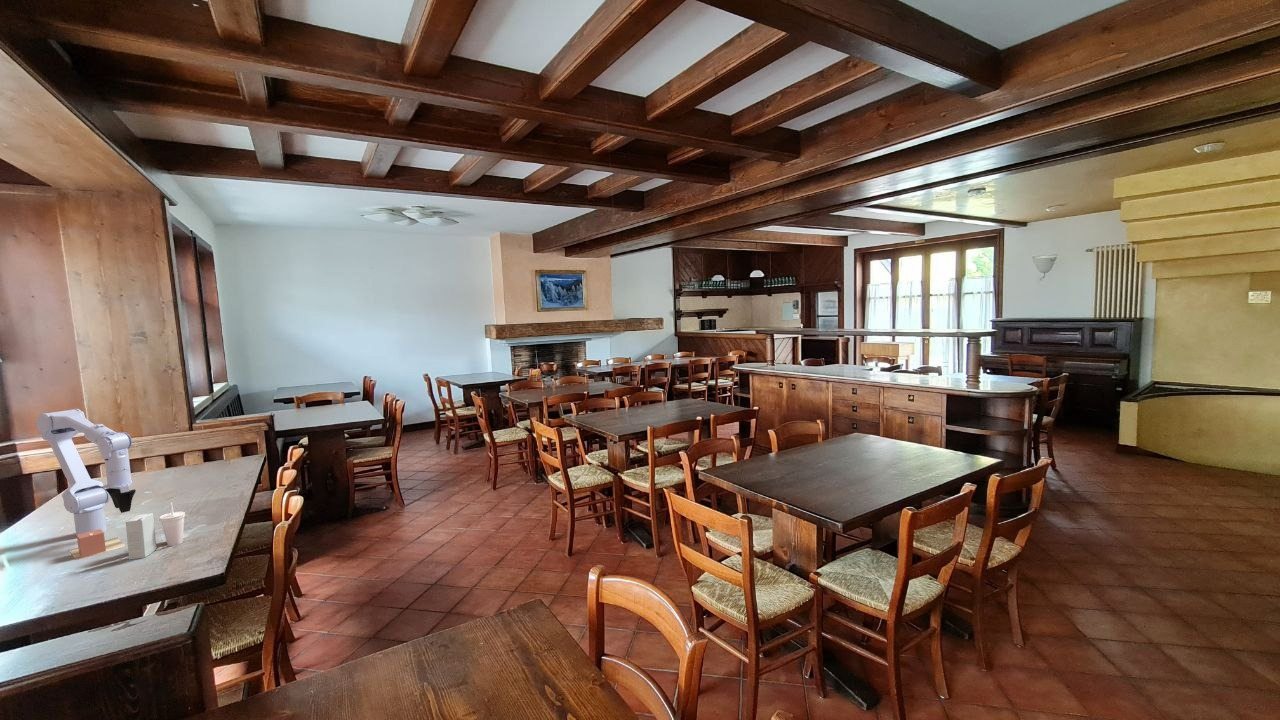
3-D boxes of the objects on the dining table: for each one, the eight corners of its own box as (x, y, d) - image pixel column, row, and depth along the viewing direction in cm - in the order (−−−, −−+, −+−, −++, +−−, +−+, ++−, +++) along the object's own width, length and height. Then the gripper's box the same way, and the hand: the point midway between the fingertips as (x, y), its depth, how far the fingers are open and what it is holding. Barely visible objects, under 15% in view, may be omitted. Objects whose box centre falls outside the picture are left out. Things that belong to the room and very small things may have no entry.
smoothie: (164, 549, 165) (159, 506, 164) (159, 545, 169) (155, 503, 167) (190, 542, 170) (186, 500, 169) (185, 537, 174) (181, 497, 173)
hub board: (68, 552, 165) (67, 540, 165) (117, 539, 174) (115, 528, 174) (76, 562, 158) (74, 550, 157) (126, 548, 166) (125, 537, 166)
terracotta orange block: (102, 547, 166) (100, 528, 166) (105, 551, 163) (103, 532, 163) (79, 553, 162) (76, 534, 162) (81, 557, 159) (79, 538, 159)
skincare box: (140, 551, 164) (136, 514, 163) (158, 549, 165) (154, 512, 164) (128, 560, 158) (123, 521, 157) (146, 557, 159) (141, 519, 158)
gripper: (96, 469, 174) (101, 509, 175) (105, 476, 166) (110, 517, 167) (125, 464, 180) (130, 502, 181) (136, 470, 171) (140, 510, 172)
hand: (122, 509), depth 174 cm, fingers open, 7 cm apart
